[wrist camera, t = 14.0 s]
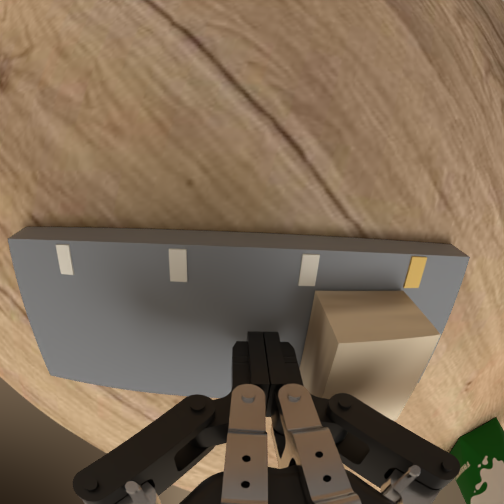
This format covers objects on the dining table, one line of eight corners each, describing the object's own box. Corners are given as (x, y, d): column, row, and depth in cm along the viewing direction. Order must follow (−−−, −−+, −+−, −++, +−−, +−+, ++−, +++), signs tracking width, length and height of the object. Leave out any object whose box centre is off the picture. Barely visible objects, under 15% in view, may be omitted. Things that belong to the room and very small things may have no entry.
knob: (315, 290, 15) (338, 343, 11) (403, 290, 15) (440, 334, 11) (297, 378, 17) (309, 432, 13) (373, 372, 17) (396, 420, 14)
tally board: (26, 226, 15) (6, 239, 13) (451, 244, 17) (470, 257, 15) (60, 357, 18) (49, 376, 17) (407, 366, 20) (418, 384, 18)
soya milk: (456, 436, 28) (508, 547, 9) (503, 410, 27) (559, 505, 9) (438, 464, 31) (478, 560, 13) (482, 441, 31) (526, 527, 12)
